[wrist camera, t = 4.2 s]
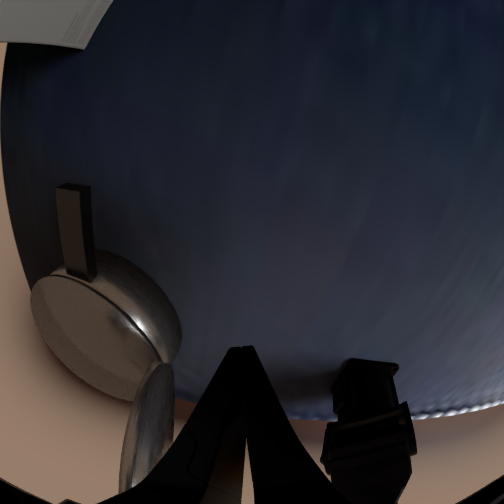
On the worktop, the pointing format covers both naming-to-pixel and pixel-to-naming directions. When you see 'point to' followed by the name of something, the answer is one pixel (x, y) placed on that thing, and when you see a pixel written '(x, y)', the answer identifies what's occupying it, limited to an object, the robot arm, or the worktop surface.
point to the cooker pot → (102, 307)
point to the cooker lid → (148, 425)
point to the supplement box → (51, 21)
